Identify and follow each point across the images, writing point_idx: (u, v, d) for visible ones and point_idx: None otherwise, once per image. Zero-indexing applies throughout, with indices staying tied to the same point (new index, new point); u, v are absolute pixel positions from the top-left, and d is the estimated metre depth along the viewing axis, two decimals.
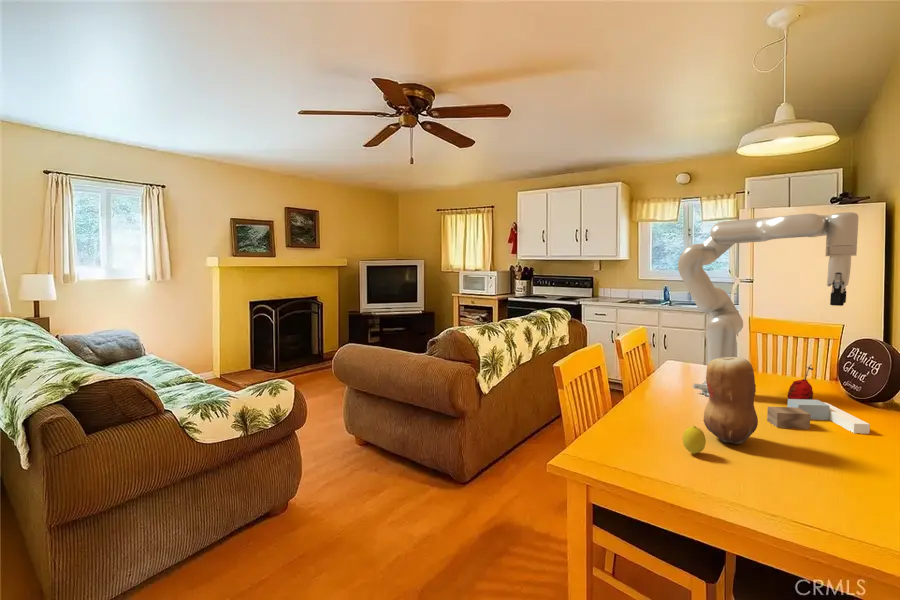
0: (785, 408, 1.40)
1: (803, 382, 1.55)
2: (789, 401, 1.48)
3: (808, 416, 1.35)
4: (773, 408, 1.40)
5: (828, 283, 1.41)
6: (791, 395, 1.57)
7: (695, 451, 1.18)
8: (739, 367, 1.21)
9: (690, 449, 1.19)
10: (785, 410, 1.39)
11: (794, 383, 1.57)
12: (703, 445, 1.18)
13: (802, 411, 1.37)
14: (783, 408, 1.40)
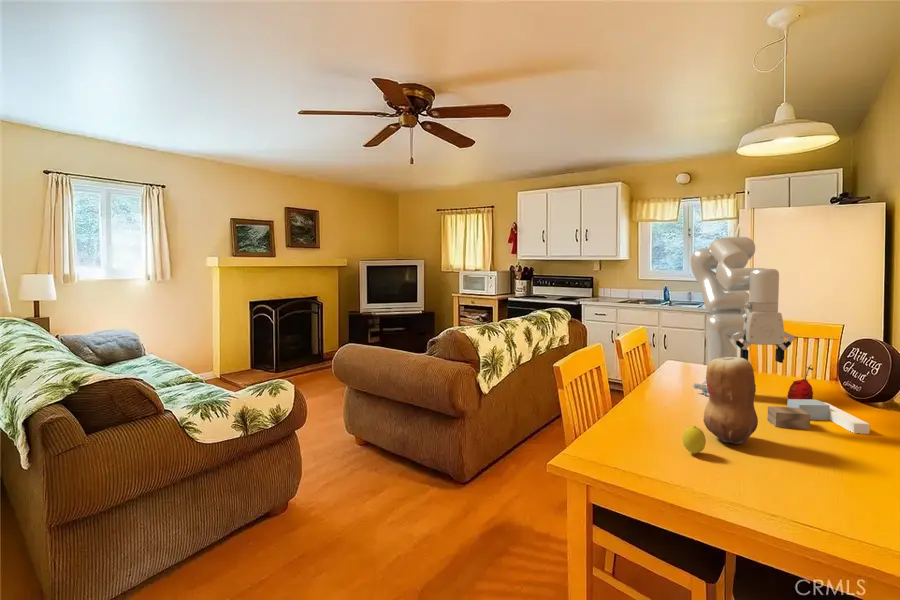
0: (785, 408, 1.40)
1: (803, 382, 1.55)
2: (789, 401, 1.48)
3: (808, 416, 1.35)
4: (773, 408, 1.41)
5: (783, 341, 1.35)
6: (791, 395, 1.57)
7: (695, 451, 1.18)
8: (739, 367, 1.21)
9: (690, 449, 1.19)
10: (785, 409, 1.39)
11: (794, 383, 1.57)
12: (703, 445, 1.18)
13: (802, 411, 1.37)
14: (783, 408, 1.40)
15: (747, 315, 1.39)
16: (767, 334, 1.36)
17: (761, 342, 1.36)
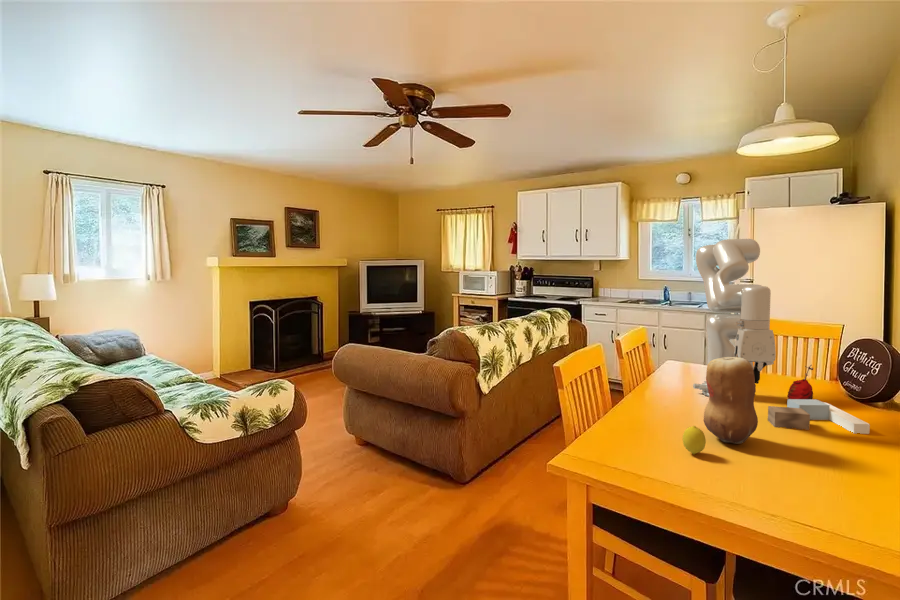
0: (786, 408, 1.40)
1: (803, 382, 1.55)
2: (789, 401, 1.48)
3: (807, 416, 1.35)
4: (773, 407, 1.41)
5: None
6: (791, 395, 1.57)
7: (695, 451, 1.18)
8: (739, 367, 1.21)
9: (690, 449, 1.19)
10: (785, 409, 1.39)
11: (794, 383, 1.57)
12: (703, 445, 1.18)
13: (802, 411, 1.37)
14: (784, 408, 1.40)
15: (739, 332, 1.38)
16: (759, 351, 1.36)
17: (752, 359, 1.36)
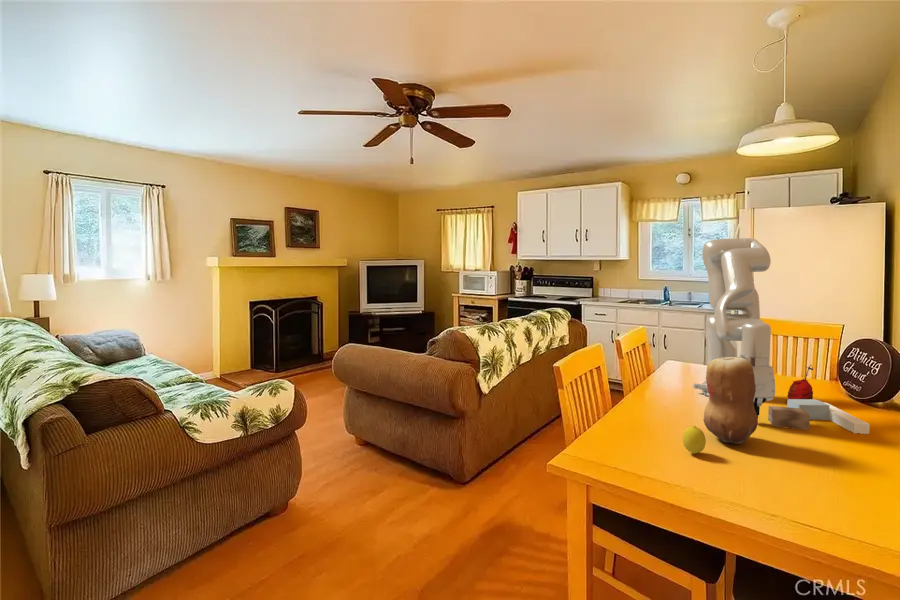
0: (786, 408, 1.40)
1: (803, 382, 1.55)
2: (789, 401, 1.48)
3: (807, 417, 1.34)
4: (773, 407, 1.41)
5: (774, 394, 1.37)
6: (791, 395, 1.57)
7: (695, 451, 1.18)
8: (739, 367, 1.21)
9: (690, 449, 1.19)
10: (785, 409, 1.39)
11: (794, 383, 1.57)
12: (703, 445, 1.18)
13: (802, 412, 1.37)
14: (784, 408, 1.40)
15: None
16: (758, 388, 1.37)
17: None
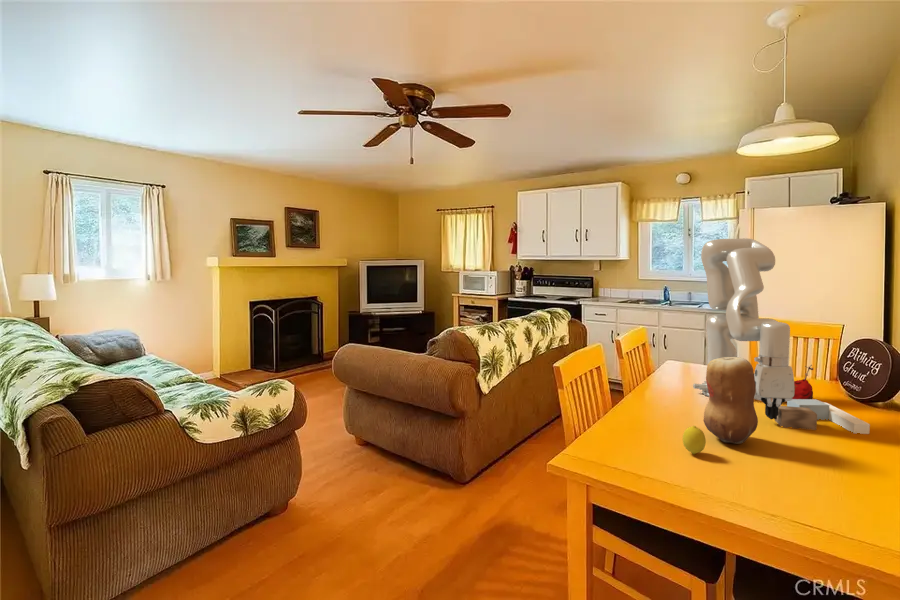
0: (793, 408, 1.40)
1: (803, 382, 1.55)
2: (789, 401, 1.48)
3: (814, 416, 1.34)
4: (780, 407, 1.41)
5: (793, 395, 1.36)
6: None
7: (695, 451, 1.18)
8: (739, 367, 1.21)
9: (690, 449, 1.19)
10: (792, 409, 1.39)
11: (794, 383, 1.57)
12: (703, 445, 1.18)
13: (810, 411, 1.36)
14: (791, 407, 1.40)
15: (757, 368, 1.39)
16: (777, 388, 1.36)
17: (771, 396, 1.37)
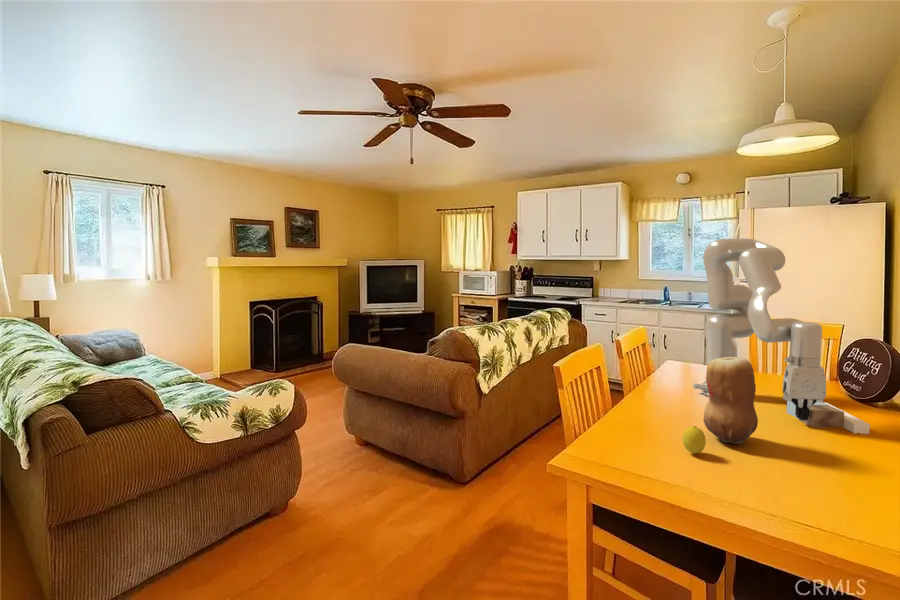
0: (817, 407, 1.40)
1: None
2: (789, 401, 1.48)
3: (842, 414, 1.35)
4: None
5: (825, 396, 1.34)
6: None
7: (695, 451, 1.18)
8: (739, 367, 1.21)
9: (690, 449, 1.19)
10: (818, 408, 1.39)
11: None
12: (703, 445, 1.18)
13: (835, 409, 1.38)
14: (815, 406, 1.40)
15: (788, 369, 1.37)
16: (809, 389, 1.34)
17: (802, 396, 1.35)
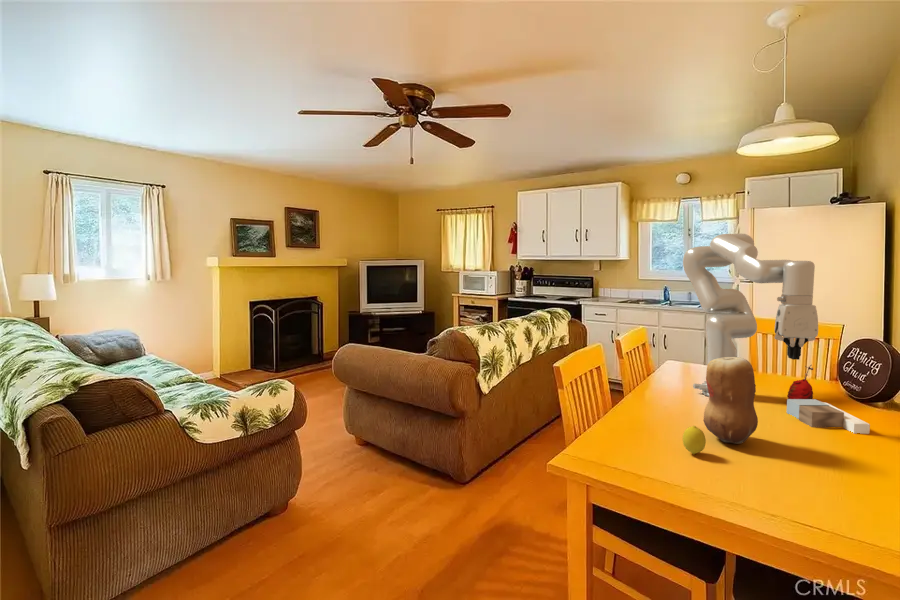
0: (817, 407, 1.40)
1: (803, 382, 1.55)
2: (789, 401, 1.48)
3: (842, 414, 1.35)
4: (805, 407, 1.40)
5: None
6: (791, 395, 1.57)
7: (695, 451, 1.18)
8: (739, 367, 1.21)
9: (690, 449, 1.19)
10: (818, 409, 1.39)
11: (794, 383, 1.57)
12: (703, 445, 1.18)
13: (834, 410, 1.38)
14: (815, 407, 1.41)
15: (780, 308, 1.36)
16: (801, 327, 1.34)
17: (794, 335, 1.34)
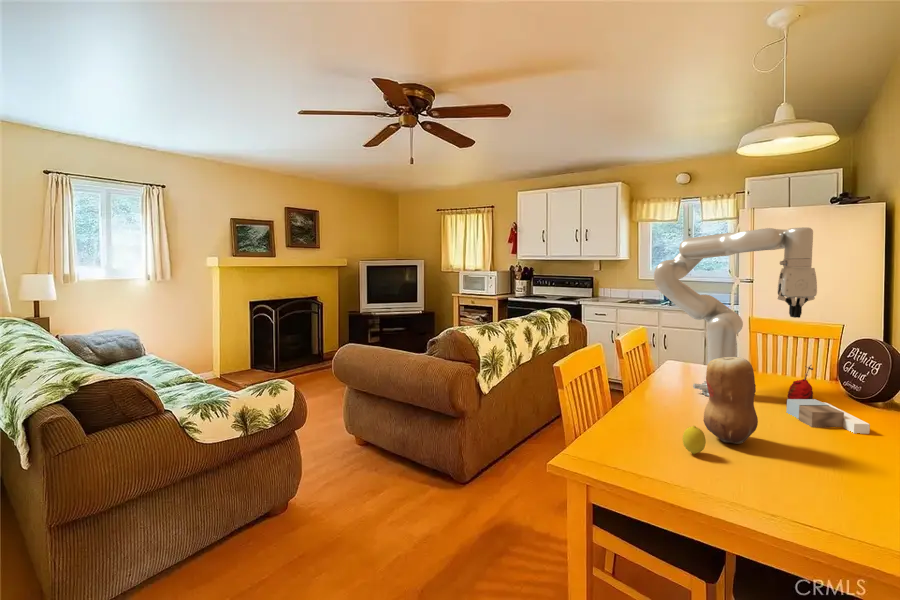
0: (817, 407, 1.40)
1: (803, 382, 1.55)
2: (789, 401, 1.48)
3: (842, 414, 1.35)
4: (805, 407, 1.40)
5: (816, 293, 1.48)
6: (791, 395, 1.57)
7: (695, 451, 1.18)
8: (739, 367, 1.21)
9: (690, 449, 1.19)
10: (818, 409, 1.39)
11: (794, 383, 1.57)
12: (703, 445, 1.18)
13: (834, 409, 1.38)
14: (815, 407, 1.41)
15: (782, 271, 1.51)
16: (801, 287, 1.48)
17: (795, 295, 1.49)
